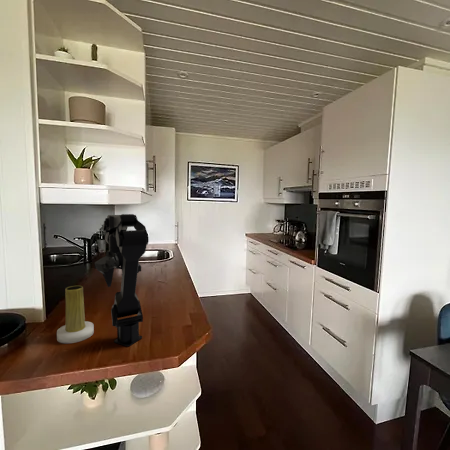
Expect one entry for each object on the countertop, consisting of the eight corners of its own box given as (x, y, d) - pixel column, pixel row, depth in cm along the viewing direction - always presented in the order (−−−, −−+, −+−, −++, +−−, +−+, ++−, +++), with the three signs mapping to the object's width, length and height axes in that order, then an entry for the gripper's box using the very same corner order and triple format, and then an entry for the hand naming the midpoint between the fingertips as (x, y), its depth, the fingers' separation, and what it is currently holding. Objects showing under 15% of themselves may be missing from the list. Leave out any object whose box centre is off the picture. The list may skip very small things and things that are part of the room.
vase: (63, 328, 91) (61, 287, 90) (82, 322, 95) (81, 283, 94) (68, 334, 86) (66, 291, 85) (88, 328, 91) (86, 287, 90)
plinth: (100, 331, 94) (100, 324, 94) (71, 346, 84) (71, 338, 84) (79, 325, 98) (79, 319, 98) (49, 339, 88) (49, 331, 88)
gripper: (81, 248, 96) (82, 290, 97) (118, 253, 88) (119, 299, 90) (106, 244, 106) (107, 282, 107) (142, 249, 98) (142, 289, 100)
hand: (117, 288), depth 101 cm, fingers open, 9 cm apart
